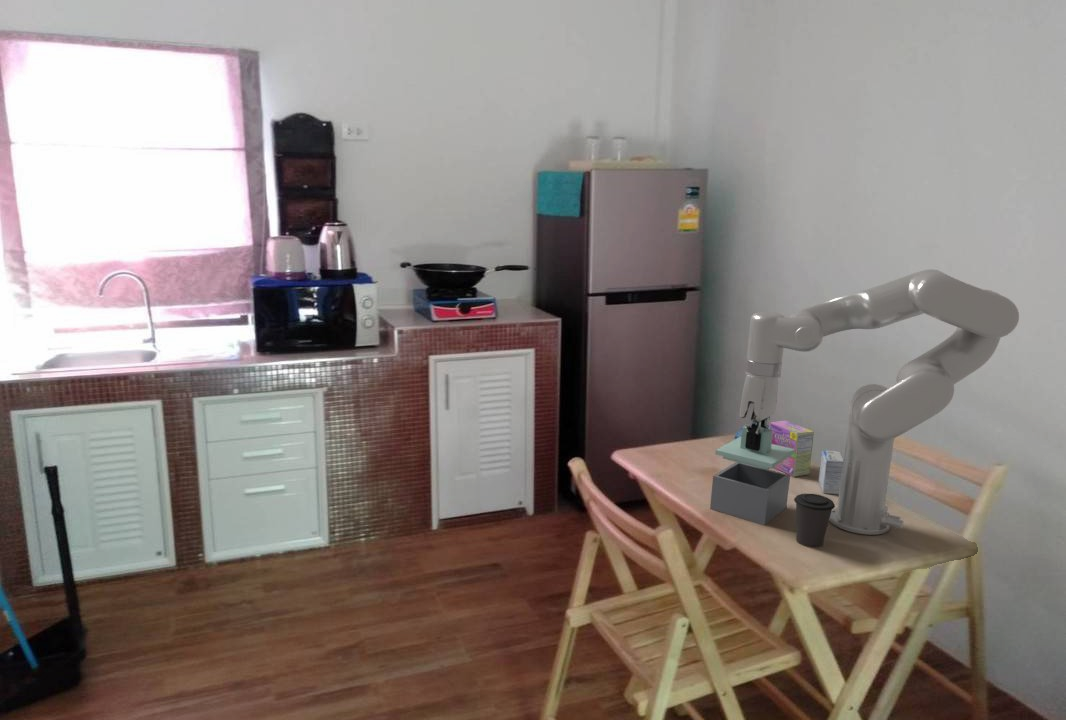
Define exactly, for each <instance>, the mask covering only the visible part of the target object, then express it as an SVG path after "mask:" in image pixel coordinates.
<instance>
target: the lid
mask: <svg viewBox="0 0 1066 720" xmlns="http://www.w3.org/2000/svg"><path fill="white" fill-rule="evenodd" d="M741 428H742V435H741V437H739V438H737V439H735V438H734V439H733V440H731V441H730V442H728V443H726V444H725V445H723V446H721V447H718V448H717V449H715V455H717V456H719V457H720V456H721V457H722V459H724V460H728V461H731V462H734V463H736V462H739V463H743V464H747V465H751V466H755V467H759V468H763V469H767V470H770V469H774V467H775V466H776V465H778V464H779V463H781V462H782V461H784V460H785V459H787V458H788V457H790V456H791V455H793V454H794V450H795V449H791V448H787V447H783V446H778V445H774V444H772V434H773V430H771V429H770V428H768V429H767V428H762V427H760V434H761V441H760V450H759V451H755V450H751V449H747V448H746V447H745V444H746V434H747V432H746V428H747V427H746V426H745V425H744V426H742V427H741Z"/></svg>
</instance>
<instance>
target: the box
mask: <svg viewBox="0 0 1066 720" xmlns="http://www.w3.org/2000/svg"><path fill="white" fill-rule="evenodd" d="M769 429H771V430H773V434H772V444H774V445H778V446H783V447H787V448H791V449H795V450H794V454H793V455H791V456H790V457H788V458H787V459H785V460H784V461H782V462H781V463H779V464H778V465H776V466H775V467H773V469H776V470H778V471H780V472H781V473H784V474H787V475H790V477H792V478H795V477H801V476H806V475H807V476H808V475H810V472H811V463H812V454H813V448H814V447H813V445H814V439H815V437H814V436H815V431H813V430H810V429H808V428H806V427H804V426H800V425H798V424H796V423H793V422H790V421H788V420H777V421H773V422H772V421H771V422H769Z"/></svg>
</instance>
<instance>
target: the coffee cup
mask: <svg viewBox="0 0 1066 720" xmlns="http://www.w3.org/2000/svg"><path fill="white" fill-rule="evenodd" d="M793 502H794V503H795V504H796V505H795V506H796V507H795V509H796V510H795V515H796V517H795V518H796V519H795V527H796V528H795V529H796V530H795V531H796V533H795V535H796V536H795V537H796V538H795V540H796V542H797V543H798V544H800V545H801V546H804V547H807V548H820V547H822V546H823V544H824V541H825V537H826V534H827V529H828V526H829V522H830V520H829V519H830V515H831V511H832V510H833V509H835V507H836V504H835V502H834V501H833V500H832V499H831V498H829V497H827V496H824V495H820V494H817V493H816V494H815V493H802V494H801V493H799V494H797V495H796V496H795V497H794V499H793Z"/></svg>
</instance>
